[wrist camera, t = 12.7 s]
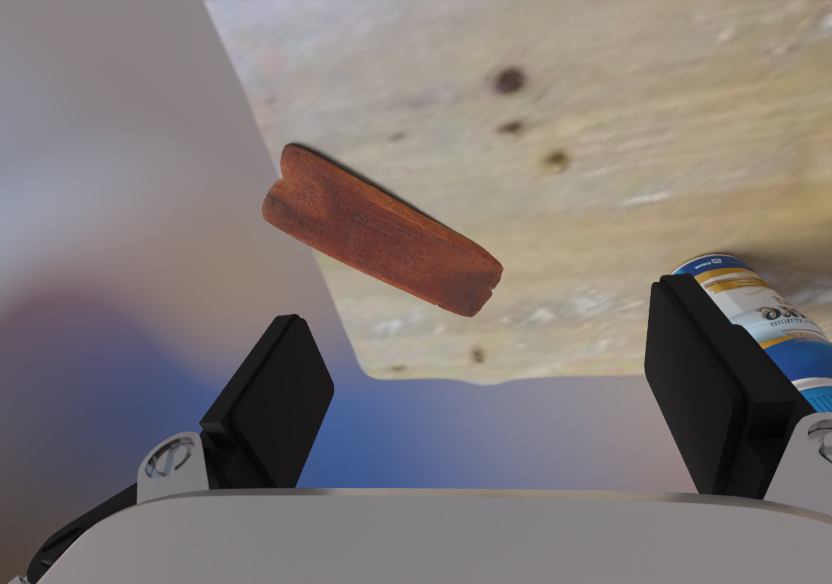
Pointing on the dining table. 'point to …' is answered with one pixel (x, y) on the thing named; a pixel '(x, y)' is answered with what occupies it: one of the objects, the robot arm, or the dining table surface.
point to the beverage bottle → (769, 323)
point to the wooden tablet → (378, 234)
